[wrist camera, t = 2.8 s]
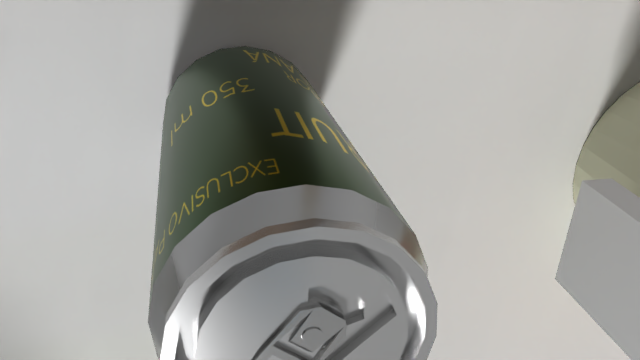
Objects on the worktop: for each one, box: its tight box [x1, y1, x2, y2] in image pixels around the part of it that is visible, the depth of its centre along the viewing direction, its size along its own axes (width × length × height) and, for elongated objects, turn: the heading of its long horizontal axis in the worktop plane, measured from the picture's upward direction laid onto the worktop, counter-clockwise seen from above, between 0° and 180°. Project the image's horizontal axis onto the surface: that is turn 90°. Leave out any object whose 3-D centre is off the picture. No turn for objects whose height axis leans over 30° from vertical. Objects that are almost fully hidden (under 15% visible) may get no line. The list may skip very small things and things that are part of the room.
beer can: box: [148, 46, 437, 360], centre depth 15 cm, size 5×5×12 cm
